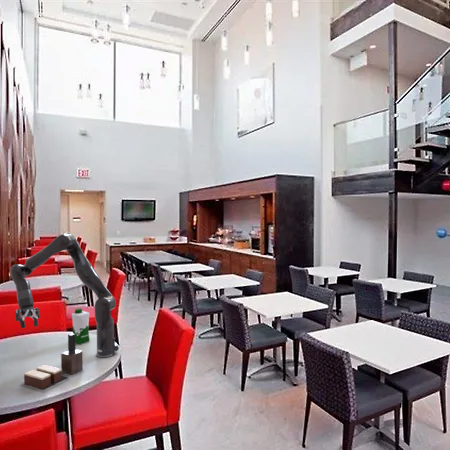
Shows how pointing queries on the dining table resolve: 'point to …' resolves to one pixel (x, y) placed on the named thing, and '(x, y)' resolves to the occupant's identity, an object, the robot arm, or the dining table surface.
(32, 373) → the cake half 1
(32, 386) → the cake board
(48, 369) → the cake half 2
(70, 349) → the knife
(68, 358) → the knife block
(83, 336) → the milk carton
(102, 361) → the dining table surface
